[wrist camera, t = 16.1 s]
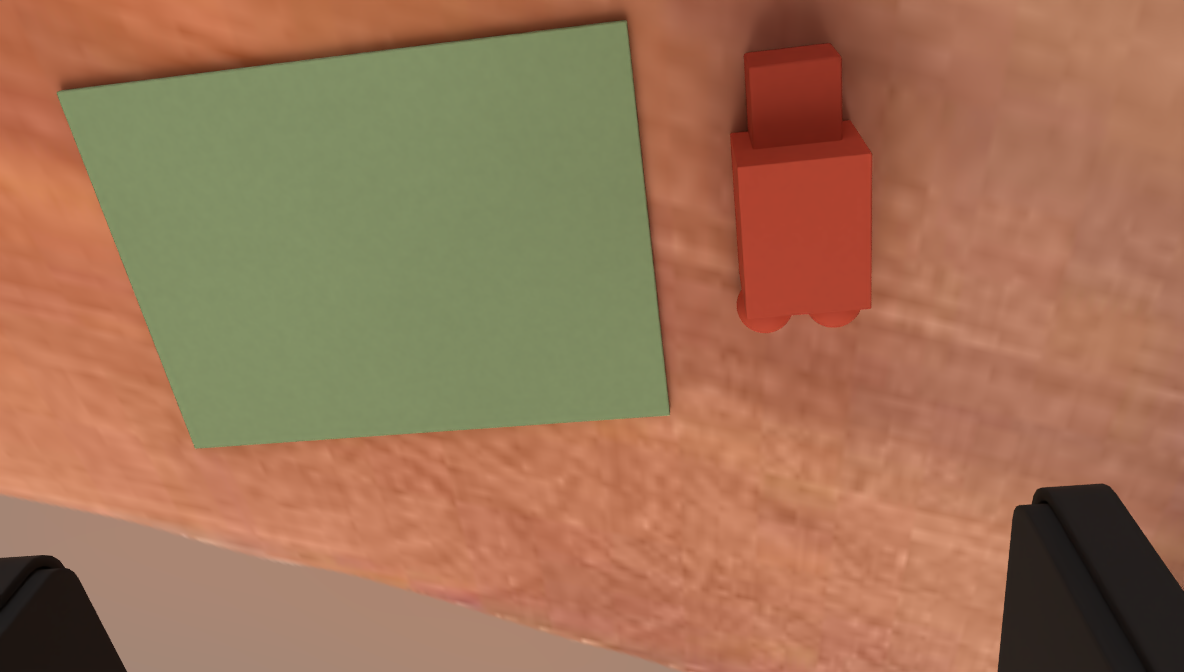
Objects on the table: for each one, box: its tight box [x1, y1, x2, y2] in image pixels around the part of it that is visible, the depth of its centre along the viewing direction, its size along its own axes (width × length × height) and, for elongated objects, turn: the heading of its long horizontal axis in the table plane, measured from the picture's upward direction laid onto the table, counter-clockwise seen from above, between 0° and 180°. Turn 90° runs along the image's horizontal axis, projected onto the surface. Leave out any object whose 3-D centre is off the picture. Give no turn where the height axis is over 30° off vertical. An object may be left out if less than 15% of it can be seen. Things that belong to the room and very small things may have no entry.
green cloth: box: [57, 20, 670, 448], centre depth 35 cm, size 15×20×1 cm
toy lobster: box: [730, 43, 872, 333], centre depth 31 cm, size 10×4×4 cm, turn 7°
